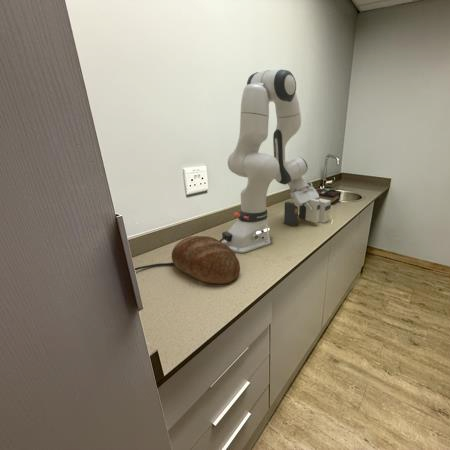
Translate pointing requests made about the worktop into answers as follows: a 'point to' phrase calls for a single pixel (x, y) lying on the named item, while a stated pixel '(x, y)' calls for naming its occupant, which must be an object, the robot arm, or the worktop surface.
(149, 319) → the worktop surface
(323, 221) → the white book
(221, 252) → the bread
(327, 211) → the white book
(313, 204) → the white book
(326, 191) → the decorative book
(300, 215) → the grey book right
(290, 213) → the grey book left
